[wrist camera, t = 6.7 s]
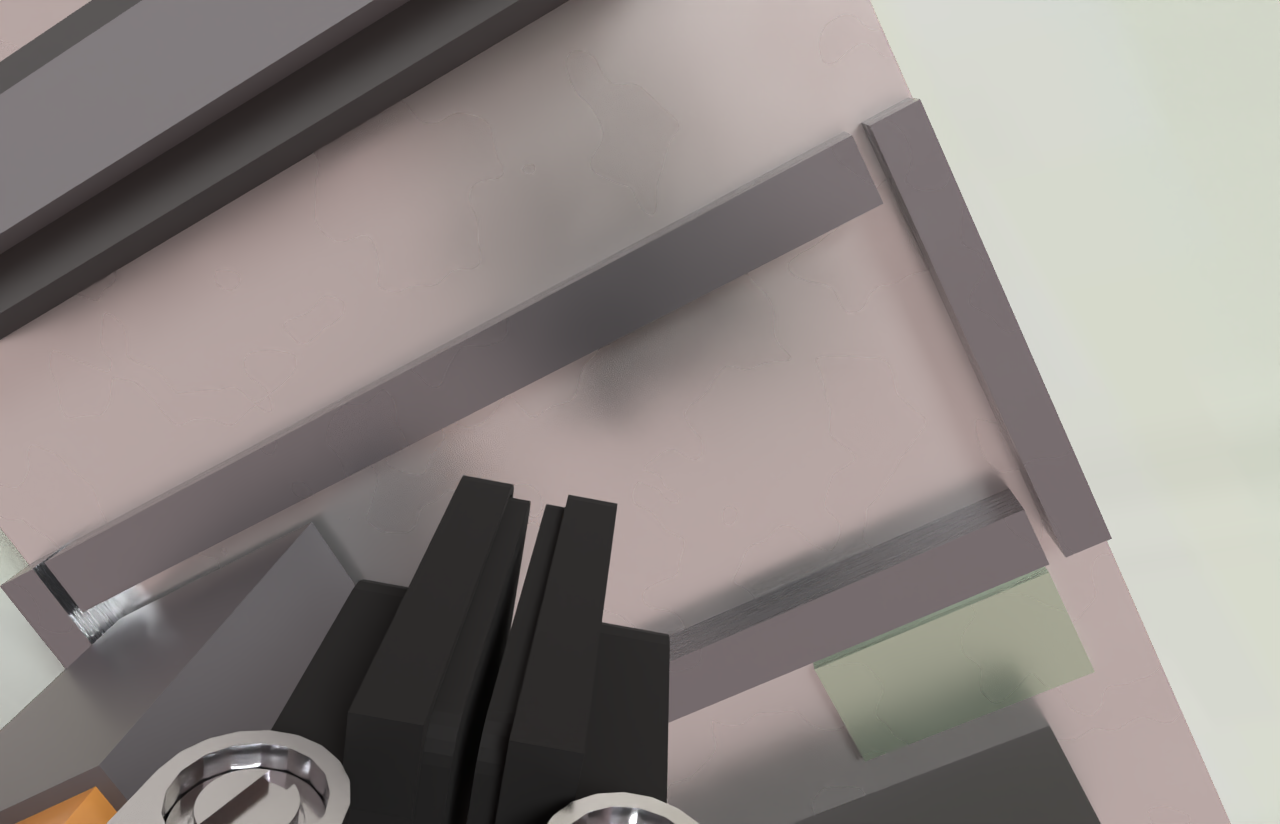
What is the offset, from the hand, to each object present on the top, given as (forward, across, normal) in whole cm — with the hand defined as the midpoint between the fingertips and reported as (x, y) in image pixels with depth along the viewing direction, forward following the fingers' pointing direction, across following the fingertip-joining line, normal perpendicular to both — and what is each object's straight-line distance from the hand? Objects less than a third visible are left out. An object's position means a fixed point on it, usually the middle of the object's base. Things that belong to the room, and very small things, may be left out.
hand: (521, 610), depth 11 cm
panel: (+7, 0, +2) cm, 7 cm away
